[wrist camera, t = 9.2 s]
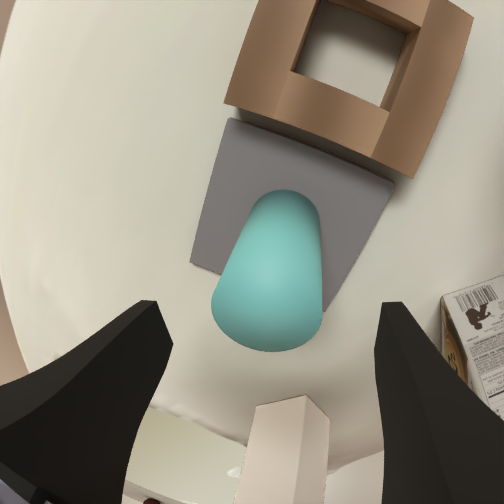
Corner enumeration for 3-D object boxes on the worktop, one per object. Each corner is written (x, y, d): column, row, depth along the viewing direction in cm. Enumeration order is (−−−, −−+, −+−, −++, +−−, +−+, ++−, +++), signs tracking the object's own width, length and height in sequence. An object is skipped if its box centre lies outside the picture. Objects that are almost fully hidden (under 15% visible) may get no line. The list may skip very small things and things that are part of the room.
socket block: (455, 24, 10) (473, 17, 8) (400, 166, 16) (412, 179, 13) (289, -46, 10) (285, -64, 8) (235, 101, 16) (223, 103, 13)
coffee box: (497, 347, 21) (541, 496, 7) (439, 367, 23) (464, 530, 9) (507, 270, 17) (598, 450, 3) (438, 294, 19) (499, 509, 5)
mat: (393, 181, 16) (395, 184, 16) (324, 306, 21) (324, 312, 21) (230, 117, 16) (227, 118, 16) (192, 257, 21) (189, 262, 21)
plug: (322, 191, 17) (328, 272, 10) (317, 255, 19) (315, 355, 12) (248, 188, 17) (205, 263, 11) (250, 251, 20) (217, 345, 13)
